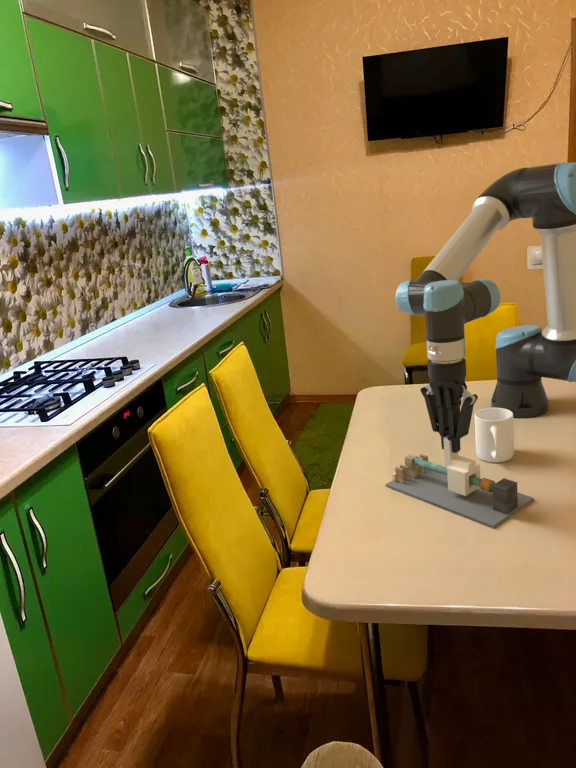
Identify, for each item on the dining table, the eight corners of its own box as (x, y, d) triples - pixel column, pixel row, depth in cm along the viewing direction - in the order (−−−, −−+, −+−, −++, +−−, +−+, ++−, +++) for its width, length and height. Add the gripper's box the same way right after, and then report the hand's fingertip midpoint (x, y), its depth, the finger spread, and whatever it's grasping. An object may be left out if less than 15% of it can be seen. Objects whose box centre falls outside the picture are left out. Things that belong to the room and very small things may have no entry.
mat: (425, 464, 148) (425, 462, 148) (533, 500, 126) (533, 497, 126) (385, 486, 140) (385, 484, 140) (493, 528, 118) (493, 525, 118)
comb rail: (421, 467, 146) (419, 444, 145) (526, 503, 125) (525, 476, 124) (392, 483, 141) (390, 459, 139) (497, 523, 120) (496, 496, 118)
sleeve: (463, 480, 134) (461, 453, 132) (480, 486, 130) (479, 458, 128) (448, 489, 131) (446, 461, 129) (465, 496, 128) (464, 467, 126)
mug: (477, 470, 142) (475, 427, 138) (475, 448, 153) (473, 408, 149) (517, 470, 139) (516, 426, 136) (512, 447, 150) (511, 406, 147)
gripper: (409, 359, 127) (416, 462, 134) (461, 368, 117) (466, 479, 124) (432, 350, 132) (438, 450, 139) (485, 358, 121) (488, 466, 129)
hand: (451, 464), depth 131 cm, fingers closed
